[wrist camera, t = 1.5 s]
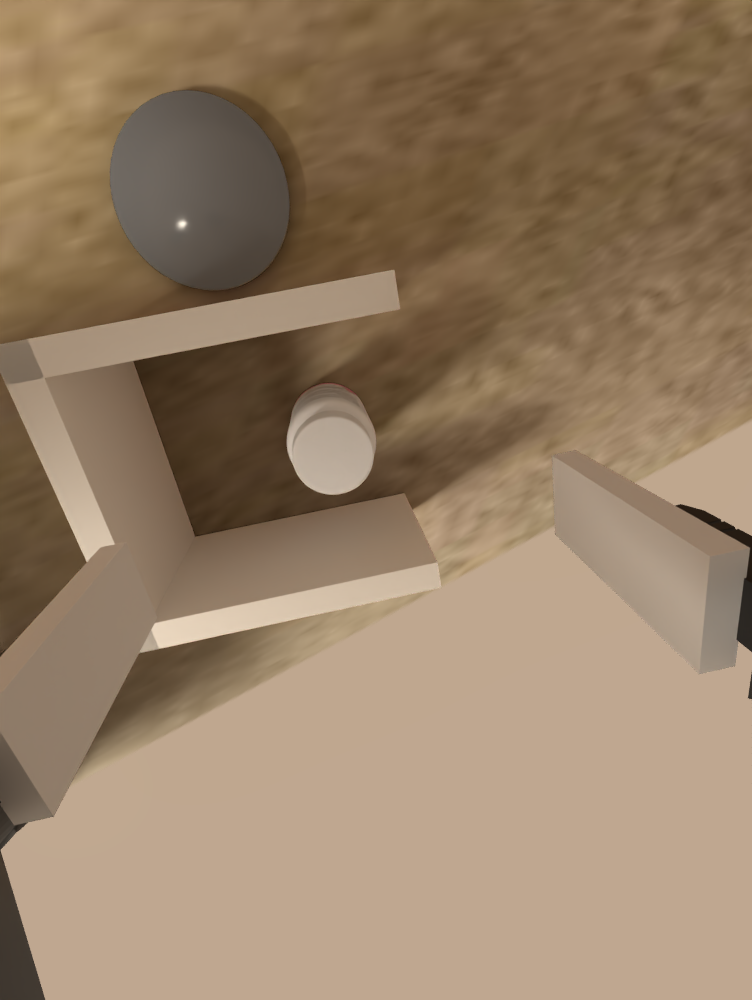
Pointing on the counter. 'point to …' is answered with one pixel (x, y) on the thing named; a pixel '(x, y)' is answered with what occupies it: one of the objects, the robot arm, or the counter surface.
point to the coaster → (200, 190)
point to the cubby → (153, 490)
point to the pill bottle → (331, 439)
